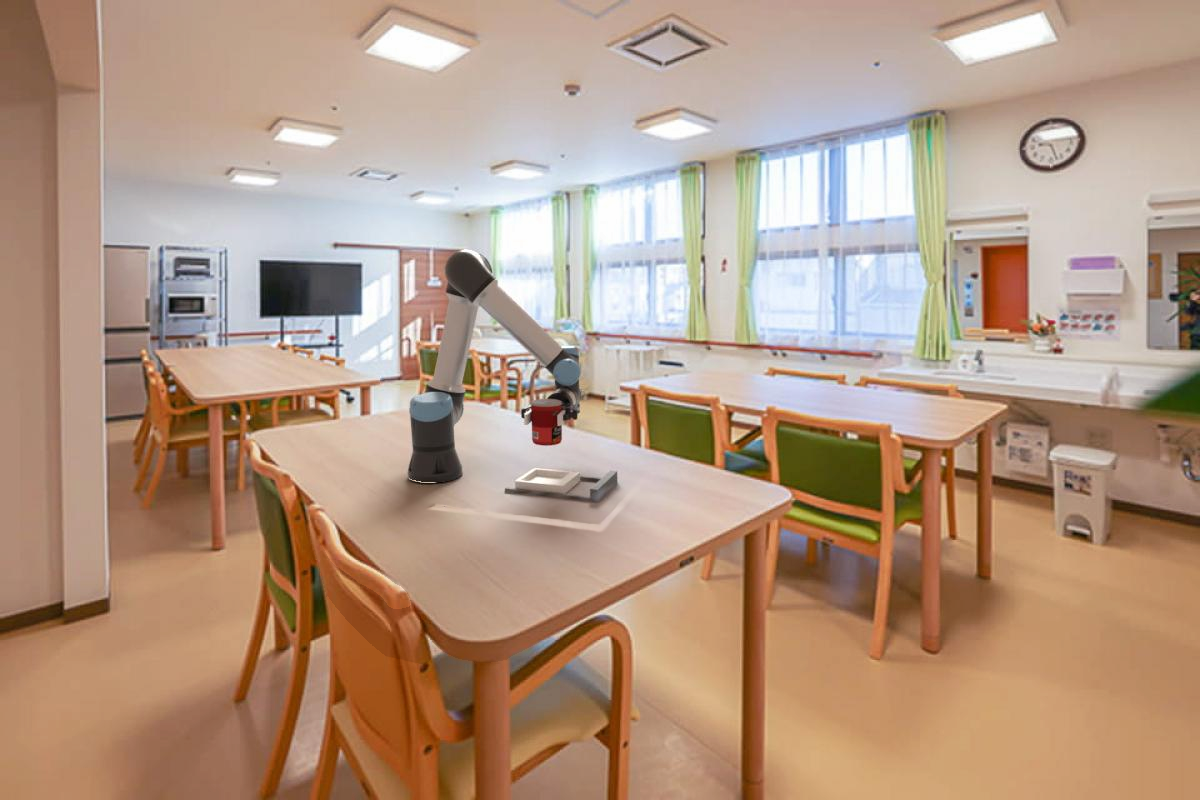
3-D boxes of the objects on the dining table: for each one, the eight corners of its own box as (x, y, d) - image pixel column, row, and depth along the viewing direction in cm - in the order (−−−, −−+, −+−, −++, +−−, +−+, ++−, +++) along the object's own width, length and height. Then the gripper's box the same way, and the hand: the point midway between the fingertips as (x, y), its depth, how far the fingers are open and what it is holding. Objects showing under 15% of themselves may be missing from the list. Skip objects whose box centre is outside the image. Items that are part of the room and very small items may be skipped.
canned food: (558, 446, 157) (557, 404, 155) (528, 445, 158) (527, 403, 156) (565, 439, 164) (564, 399, 162) (536, 438, 165) (535, 398, 163)
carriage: (515, 490, 159) (514, 480, 158) (534, 476, 170) (534, 467, 169) (563, 495, 154) (563, 486, 154) (580, 481, 166) (579, 472, 165)
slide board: (505, 495, 158) (504, 479, 157) (531, 477, 173) (531, 462, 172) (603, 507, 149) (603, 490, 148) (622, 486, 164) (622, 471, 163)
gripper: (595, 416, 176) (582, 435, 154) (526, 414, 179) (503, 433, 157) (595, 391, 175) (582, 406, 153) (525, 389, 178) (502, 404, 156)
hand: (542, 420), depth 155 cm, fingers closed on canned food, 8 cm apart
